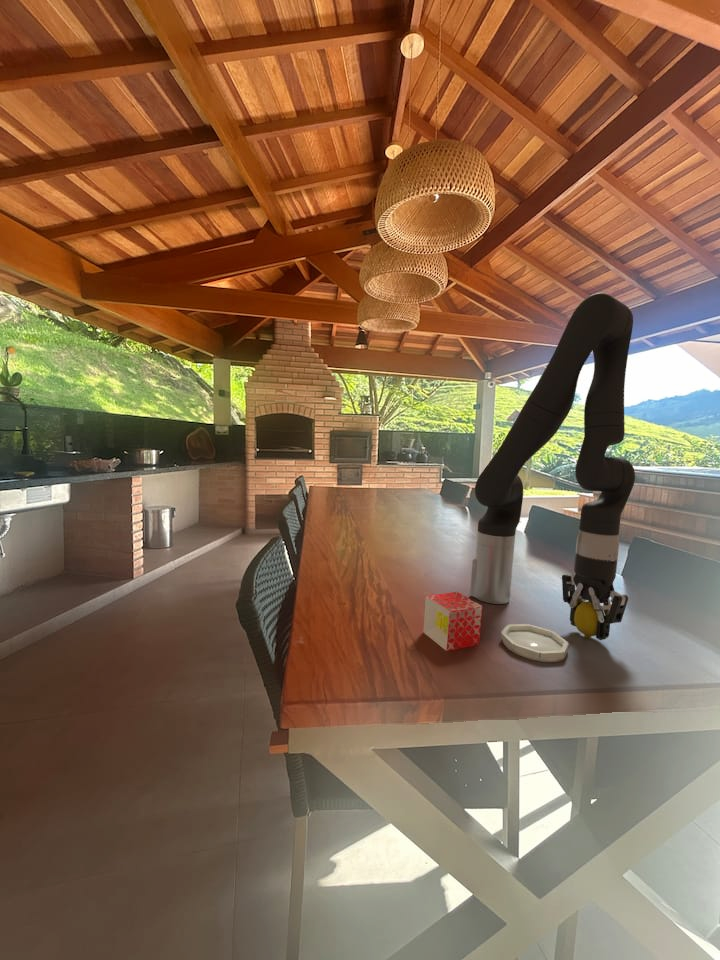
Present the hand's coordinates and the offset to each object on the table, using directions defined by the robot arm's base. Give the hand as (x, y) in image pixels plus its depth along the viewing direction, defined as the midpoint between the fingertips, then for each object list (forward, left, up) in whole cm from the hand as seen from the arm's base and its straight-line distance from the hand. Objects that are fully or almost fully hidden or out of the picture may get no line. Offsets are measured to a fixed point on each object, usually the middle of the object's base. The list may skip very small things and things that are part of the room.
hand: (588, 631), depth 84 cm
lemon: (0, 0, -1) cm, 1 cm away
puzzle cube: (-22, -20, -2) cm, 30 cm away
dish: (-8, -12, -1) cm, 14 cm away
